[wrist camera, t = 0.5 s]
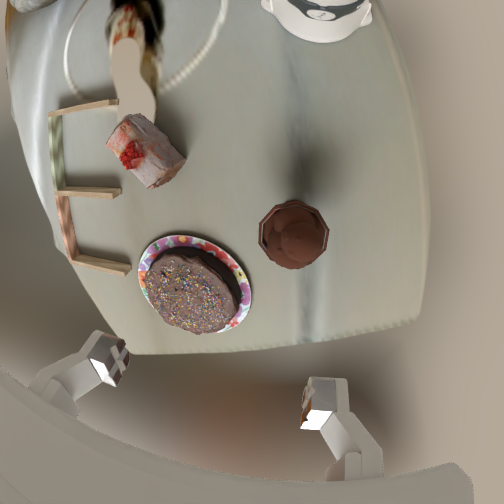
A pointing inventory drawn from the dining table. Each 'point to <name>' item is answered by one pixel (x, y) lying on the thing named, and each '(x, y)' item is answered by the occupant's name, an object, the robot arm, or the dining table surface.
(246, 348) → the dining table surface
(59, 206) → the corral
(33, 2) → the gourd
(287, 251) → the ice cream bowl
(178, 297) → the chocolate cake
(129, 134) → the food item
